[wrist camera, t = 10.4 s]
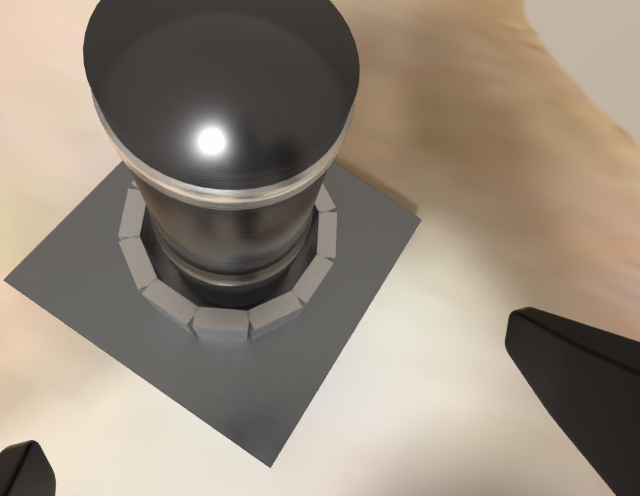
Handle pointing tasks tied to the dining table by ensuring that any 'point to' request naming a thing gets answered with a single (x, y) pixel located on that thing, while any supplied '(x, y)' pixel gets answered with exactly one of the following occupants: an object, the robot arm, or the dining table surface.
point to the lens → (225, 126)
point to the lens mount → (215, 320)
